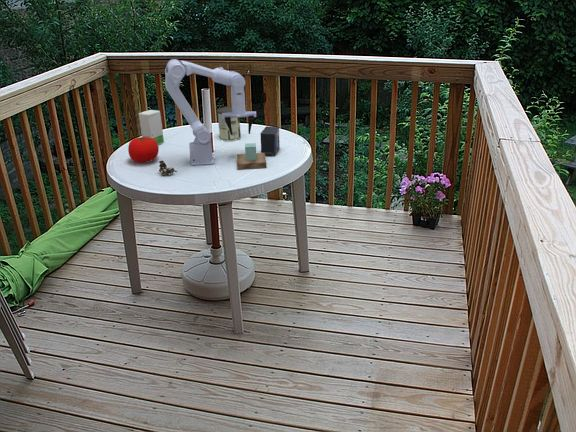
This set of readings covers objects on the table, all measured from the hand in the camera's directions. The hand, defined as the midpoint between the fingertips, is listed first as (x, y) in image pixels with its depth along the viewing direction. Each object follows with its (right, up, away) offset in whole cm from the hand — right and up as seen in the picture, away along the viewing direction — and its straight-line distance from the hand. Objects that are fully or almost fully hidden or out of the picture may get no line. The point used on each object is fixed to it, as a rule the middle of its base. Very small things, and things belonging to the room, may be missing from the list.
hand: (240, 133), depth 244 cm
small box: (+13, -7, +9) cm, 17 cm away
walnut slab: (+5, -13, -4) cm, 15 cm away
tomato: (-42, -11, +4) cm, 44 cm away
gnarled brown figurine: (-28, -19, -11) cm, 36 cm away
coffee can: (-7, +2, +29) cm, 30 cm away
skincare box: (-43, -2, +24) cm, 49 cm away
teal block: (+5, -11, -5) cm, 14 cm away
